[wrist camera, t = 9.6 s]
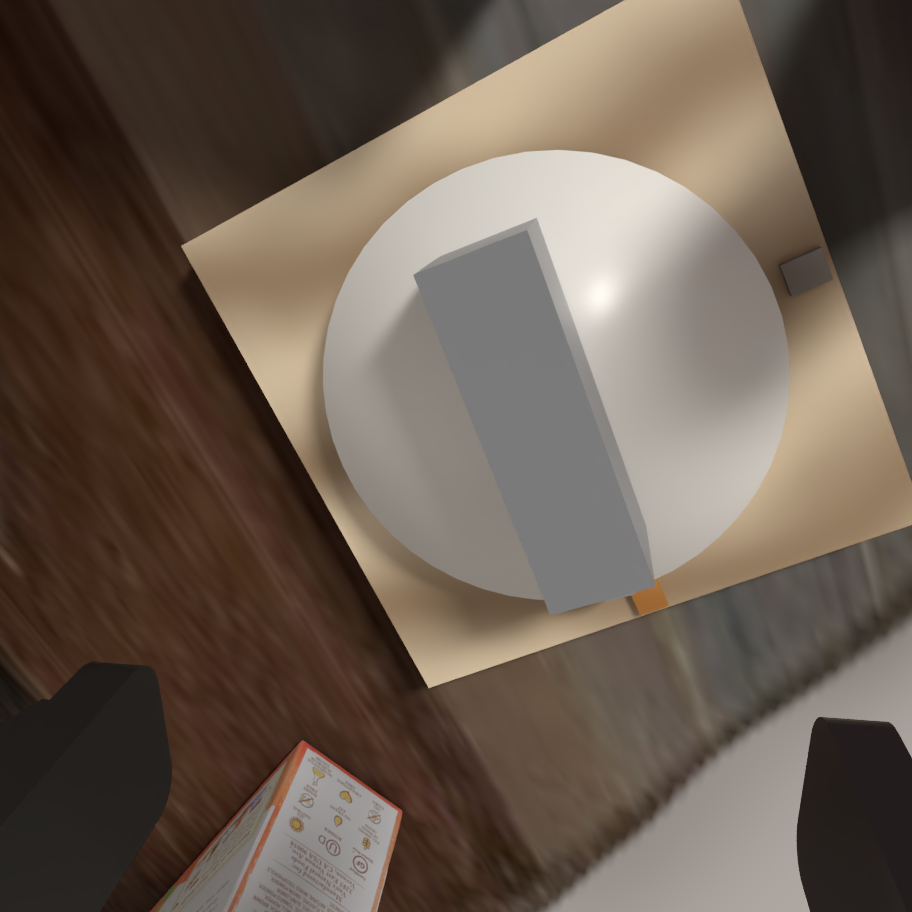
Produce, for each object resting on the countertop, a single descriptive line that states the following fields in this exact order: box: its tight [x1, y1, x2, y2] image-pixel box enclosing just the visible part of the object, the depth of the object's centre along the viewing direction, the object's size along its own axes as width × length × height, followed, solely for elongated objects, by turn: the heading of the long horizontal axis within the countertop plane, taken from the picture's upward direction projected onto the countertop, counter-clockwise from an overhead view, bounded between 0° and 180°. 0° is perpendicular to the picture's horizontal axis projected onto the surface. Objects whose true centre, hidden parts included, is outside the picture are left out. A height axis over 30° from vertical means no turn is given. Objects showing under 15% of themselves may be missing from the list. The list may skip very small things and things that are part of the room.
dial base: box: [181, 0, 912, 688], centre depth 28 cm, size 18×18×2 cm
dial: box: [323, 150, 790, 615], centre depth 24 cm, size 14×14×6 cm
